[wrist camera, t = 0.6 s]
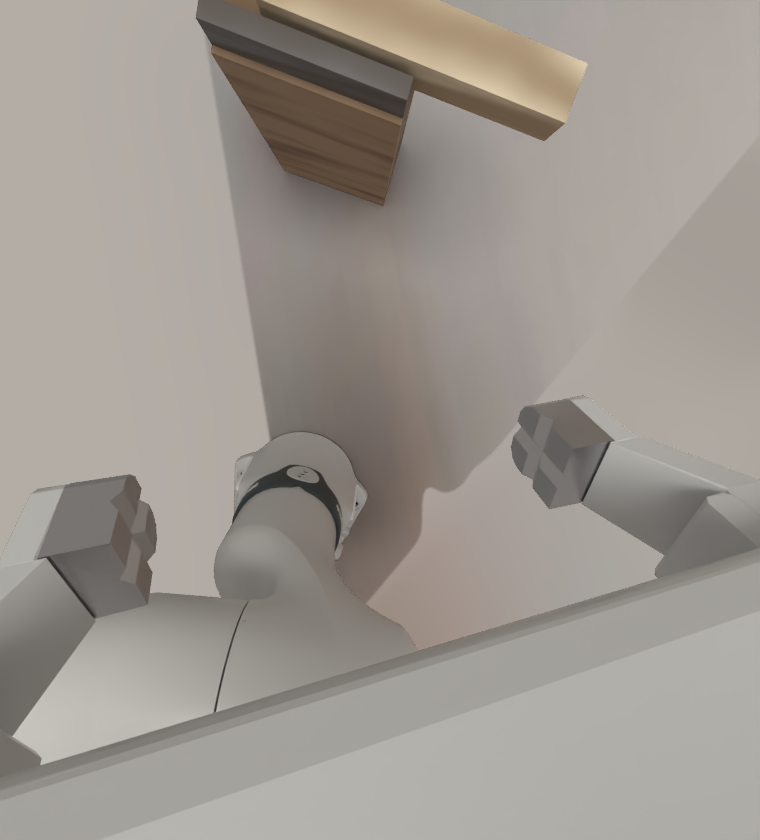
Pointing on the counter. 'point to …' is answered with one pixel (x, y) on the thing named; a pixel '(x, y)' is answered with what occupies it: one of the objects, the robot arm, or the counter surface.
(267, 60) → the tall stand
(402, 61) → the beech bar
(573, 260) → the counter surface
